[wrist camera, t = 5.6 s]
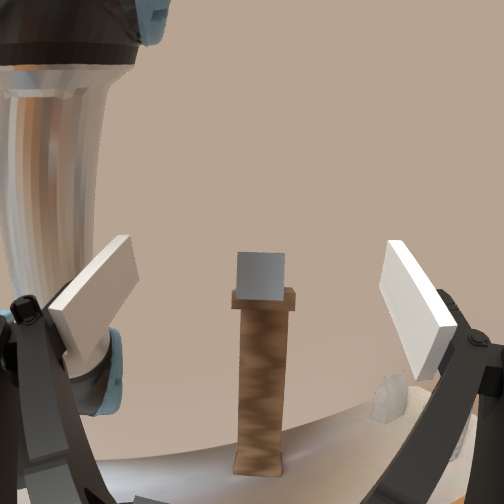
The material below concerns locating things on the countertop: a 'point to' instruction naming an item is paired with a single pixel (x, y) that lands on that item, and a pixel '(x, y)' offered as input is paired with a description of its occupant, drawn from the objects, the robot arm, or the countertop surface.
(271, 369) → the brown tall bar piece
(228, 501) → the countertop surface
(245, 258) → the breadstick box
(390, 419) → the white small carton
